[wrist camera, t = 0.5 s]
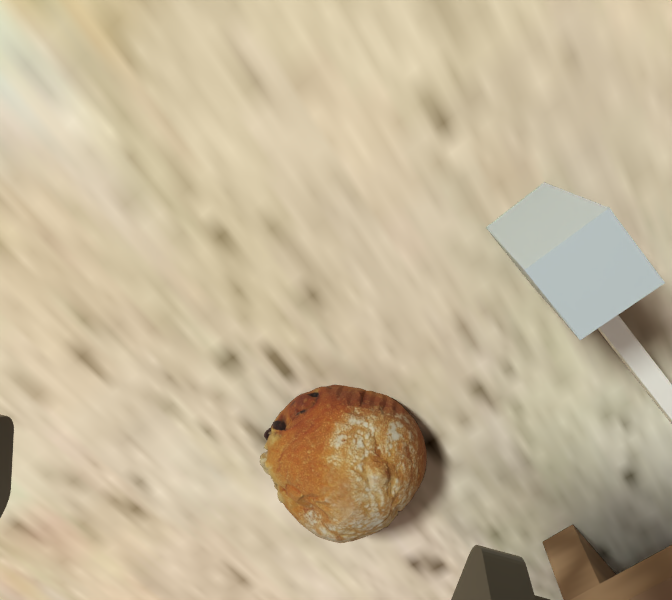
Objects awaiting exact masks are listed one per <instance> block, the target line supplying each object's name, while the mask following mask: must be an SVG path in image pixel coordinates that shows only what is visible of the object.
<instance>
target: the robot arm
mask: <svg viewBox="0 0 672 600" xmlns="http://www.w3.org/2000/svg"><path fill="white" fill-rule="evenodd" d="M13 435H14V425H13V422H12V420H11V418H9V417H8V416H4V415H0V517H1V515H2V514H3V512H4V510H5V508H6V505H7V503H8V500H9V496H10V491H11V474H12V455H13ZM451 600H550V599H546V598H542V597H539V596H535V595H534V592H533V589H532V585H531V582H530V578H529V574H528V571H527V567H526V564H525V562H524V560H523V559H522V557H519V556H516V555H512V554H508V553H505V552H501V551H497V550H494V549H490V548H486V547H482V546H479V545H476V546H474V547H473V549H472V550H471V552H470V554H469V557H468V559H467V562H466V564H465V567H464V569H463V572H462V574H461V577H460V579H459V582H458V584H457V587H456V589H455V592H454V594H453V597H452V599H451Z"/></svg>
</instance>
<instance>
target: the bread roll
mask: <svg viewBox="0 0 672 600" xmlns="http://www.w3.org/2000/svg"><path fill="white" fill-rule="evenodd" d="M264 437H265V438H266V439H267V442H266V444H265V447H264V448H265V449H267V450H268V451H267V452H265V453H263V454H262V455H261V456H260V459H261V460H260V463H261V464H260V465H261V466H262V467H263V469H264V471H265V472H266V473H267V474H269V475H270V476H271V479H273V482H274V484H275V488H276V489H277V490H278V493H277V494H278V498H279V501H280V502H281V503H283V504H284V505H285V507H286V508H287V509H288V511H289V512H290V513H291V514H292V515H293V516H294V517H295V518H296V519H297V520H298V522H299V523H300V524H302V525H303V526H304V527H305V528H307V529H308V530H309V531H311V532H312V533H313V534H315V535H316V536H318V537H320V538H323V539H326V540H329V541H333V542H338V543H345V542H349V541H354V540H357V539H360V538H363V537H366V536H368V535H371V534H373V533H376V532H378V531H380V530H381V529H382V528H385V527H388V526H389V524H390V523H391V522H392V521H393V519H394V518H395V517H396V516H397V515H398V511H402V510H403V509H404V507H405V506H406V505H407V504H408V503H409V501H410V500H411V499H412V498H413V496H414V494H415V492H416V490H417V489H418V488H419V486H420V484H421V482H422V480H423V477H424V474H425V470H426V462H427V452H426V446H425V442H424V438H423V435H422V433H421V430H420V428H419V426H418V425H417V423H416V422H415V420H414V418H413V417H412V416H411V415H410V414H409V413H408V412H407V411H406V410H405V409H404V408H403V407H402V406H401V405H400V404H399V403H398V402H397V401H395V400H394V399H392V398H390V397H388V396H386V395H383V394H380V393H376V392H373V391H366V390H363V389H360V388H353V387H348V386H342V385H331V386H327V387H319V388H316V389H314V390H312V391H310V392H307V393H304V394H301V395H299V396H297V397H296V398H295V399H293V400H292V401H291V402H290V403H289V404H288V405H287V406H286V407H285V409H284V410H283V411H281V412H280V414H279V415H278V417H277V418H276V419H275V421H274V422H273V424H272V426H271V428H269V429H268V430H267V431H266V432H265V434H264Z"/></svg>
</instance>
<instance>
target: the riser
mask: <svg viewBox="0 0 672 600" xmlns="http://www.w3.org/2000/svg"><path fill="white" fill-rule="evenodd" d="M543 544H544V547H545V550H546V553H547V555H548V558H549V561H550V564H551V566H552V569H553V572H554V575H555V577H556V580H557V583H558V586H559V588H560V591H561V594H562V597H563V599H564V600H672V545H671V546H669V547H667V548H665V549H663V550H662V551H660V552H658V553H656V554H654V555H652V556H650V557H649V558H647V559H645V560H643V561H641V562H639V563H637V564H636V565H634V566H632V567H630V568H628V569H626V570H624V571H623V572H621V573H619V574H617V575H616V574H615V573H614V572H613V571H612V569H611V568H610V567H609V566H608V565H607V564H606V562H605V561H604V560H603V559H602V558H601V557H600V556H599V554H598V553H597V552H596V551H595V550H594V549H593V547H592V546H591V545H590V544H589V543H588V542H587V540H586V539H585V538H584V537H583V536H582V535H581V533H580V532H579V531H578V530H577V529H576V528H575V527H574V525H571V526H569V527H568V528H566V529H564V530H562V531H561V532H559V533H557V534H555V535H554V536H552V537H550V538H549V539H547V540H545V541H543Z"/></svg>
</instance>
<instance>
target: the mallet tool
mask: <svg viewBox="0 0 672 600" xmlns="http://www.w3.org/2000/svg"><path fill="white" fill-rule="evenodd" d="M486 228H487V230H488V231H489V232H490V233H491V235H492V236H493V237H494V238H495V240H496V241H497V242H498V243H499V245H500V246H501V247H502V248H503V250H504V251H505V252H506V253H507V255H508V256H509V257H510V258H511V260H512V261H513V262H514V263H515V265H516V266H517V267H518V268H519V270H520V271H521V272H522V274H523V275H524V276H525V277H526V279H527V280H528V281H529V282H530V283H531V284H532V285H533V287H534V288H535V289H536V290H537V291H538V292H539V294H540V295H541V296H542V297H543V298H544V299H545V300H546V302H547V303H548V304H549V305H550V306H551V307H552V308H553V310H554V311H555V312H556V313H557V314H558V315H559V317H560V318H561V319H562V320H563V321H564V322H565V323H566V325H567V326H568V327H569V328H570V329H571V330H572V331H573V333H574V334H575V335H576V336H577V337H578V338H579V340H581V339H583V338H584V337H586V336H587V335H589V334H590V333H592V332H593V331H595V330H596V329H598V330H599V332H600V333H601V334H602V335H603V337H604V338H605V339H606V341H607V342H608V343H609V344H610V346H611V347H612V348H613V349H614V351H615V352H616V353H617V355H618V356H619V357H620V358H621V360H622V361H623V362H624V364H625V365H626V366H627V367H628V369H629V370H630V371H631V372H632V374H633V375H634V376H635V378H636V379H637V380H638V381H639V383H640V384H641V385H642V387H643V388H644V389H645V390H646V392H647V393H648V394H649V395H650V397H651V398H652V399H653V401H654V402H655V403H656V404H657V406H658V407H659V408H660V410H661V411H662V412H663V413H664V415H665V416H666V417H667V418H668V420H669V421H670V422H671V424H672V384H671V383H670V382H669V380H668V379H667V378H666V376H665V375H664V374H663V372H662V371H661V370H660V369H659V367H658V366H657V365H656V363H655V362H654V361H653V359H652V358H651V357H650V356H649V354H648V353H647V352H646V350H645V349H644V348H643V346H642V345H641V344H640V343H639V341H638V340H637V339H636V337H635V336H634V335H633V333H632V332H631V331H630V330H629V328H628V327H627V326H626V324H625V323H624V322H623V321H622V319H621V318H620V317H619V315H618V314H620V313H621V312H623V311H624V310H626V309H627V308H629V307H630V306H632V305H633V304H635V303H636V302H638V301H639V300H641V299H642V298H644V297H645V296H647V295H648V294H650V293H651V292H652V291H654V290H655V289H657V288H658V287H660V286H661V285H663V284H664V283H665V282H664V281H663V280H662V278H661V277H660V276H659V274H658V273H657V272H656V270H655V269H654V267H653V266H652V265H651V263H650V262H649V261H648V259H647V258H646V257H645V255H644V254H643V253H642V251H641V250H640V249H639V247H638V246H637V245H636V243H635V242H634V240H633V239H632V238H631V236H630V235H629V234H628V232H627V231H626V230H625V228H624V227H623V226H622V224H621V223H620V222H619V220H618V219H617V218H616V216H615V215H614V214H613V212H612V211H611V209H610V208H609V207H606V206H603V205H601V204H598V203H596V202H593V201H591V200H588V199H586V198H583V197H580V196H578V195H575V194H573V193H570V192H568V191H565V190H562V189H560V188H557V187H555V186H552V185H550V184H547V183H545V182H544V183H543V184H542V185H540V186H539V187H538V188H536V189H535V190H534V191H533V192H531V193H530V194H529V195H527V196H526V197H525V198H524V199H522V200H521V201H520V202H518V203H517V204H516V205H514V206H513V207H512V208H511V209H509V210H508V211H507V212H505V213H504V214H503V215H502V216H500V217H499V218H498V219H496V220H495V221H494V222H492V223H491V224H490V225H489V226H487V227H486Z"/></svg>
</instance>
